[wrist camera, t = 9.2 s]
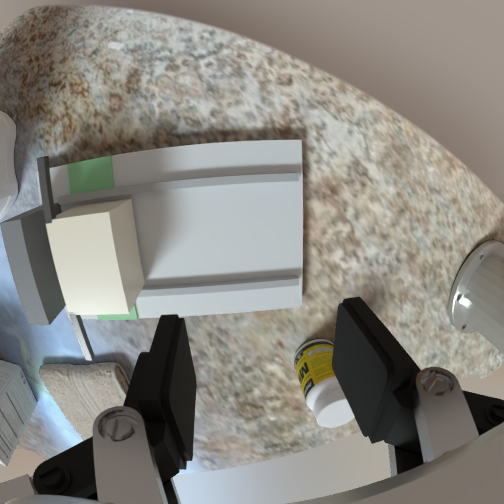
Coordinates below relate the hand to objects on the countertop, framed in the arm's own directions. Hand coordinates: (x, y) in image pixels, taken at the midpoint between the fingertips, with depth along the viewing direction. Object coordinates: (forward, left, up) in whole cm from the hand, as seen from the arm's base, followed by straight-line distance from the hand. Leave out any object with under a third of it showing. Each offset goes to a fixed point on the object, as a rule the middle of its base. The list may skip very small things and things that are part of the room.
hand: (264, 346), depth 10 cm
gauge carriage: (+11, 0, -14) cm, 18 cm away
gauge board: (+6, 0, -15) cm, 17 cm away
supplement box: (+33, +18, -16) cm, 41 cm away
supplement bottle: (-7, +14, -16) cm, 22 cm away
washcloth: (+18, +22, -16) cm, 33 cm away
